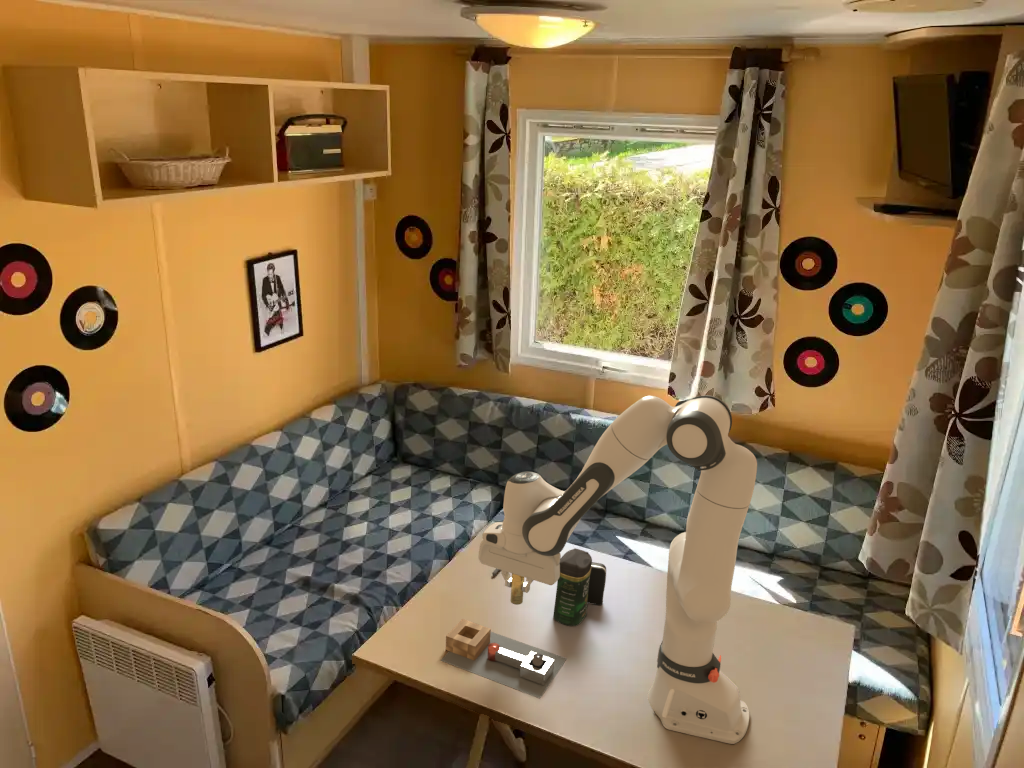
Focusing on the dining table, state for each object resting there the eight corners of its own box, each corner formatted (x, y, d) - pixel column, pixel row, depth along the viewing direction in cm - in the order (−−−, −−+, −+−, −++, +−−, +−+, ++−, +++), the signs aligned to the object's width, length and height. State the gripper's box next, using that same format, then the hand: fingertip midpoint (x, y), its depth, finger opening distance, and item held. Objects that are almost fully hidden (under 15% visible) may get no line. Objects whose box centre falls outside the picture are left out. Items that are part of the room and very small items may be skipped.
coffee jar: (577, 631, 202) (583, 568, 197) (549, 621, 206) (554, 559, 200) (590, 612, 211) (596, 551, 205) (563, 603, 214) (568, 542, 208)
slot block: (490, 642, 195) (490, 628, 194) (474, 660, 188) (475, 646, 187) (461, 632, 198) (462, 618, 197) (445, 649, 192) (446, 635, 190)
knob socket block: (553, 670, 186) (554, 659, 185) (543, 685, 181) (544, 674, 180) (493, 648, 193) (494, 637, 192) (482, 662, 187) (482, 651, 186)
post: (543, 673, 185) (544, 655, 184) (539, 679, 183) (540, 661, 182) (534, 669, 186) (535, 652, 185) (529, 675, 184) (531, 657, 183)
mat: (566, 660, 191) (566, 658, 191) (539, 700, 177) (539, 698, 177) (472, 627, 202) (473, 625, 201) (440, 662, 188) (440, 660, 188)
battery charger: (604, 598, 217) (607, 562, 214) (602, 606, 214) (606, 569, 210) (578, 594, 218) (582, 558, 215) (577, 602, 215) (580, 565, 211)
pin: (524, 599, 191) (527, 567, 188) (519, 606, 189) (521, 573, 186) (513, 596, 192) (515, 563, 189) (508, 602, 190) (510, 569, 187)
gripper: (566, 543, 183) (562, 594, 188) (488, 521, 192) (486, 570, 196) (555, 555, 178) (551, 607, 182) (476, 532, 186) (474, 582, 191)
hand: (517, 588), depth 189 cm, fingers closed on pin, 3 cm apart
